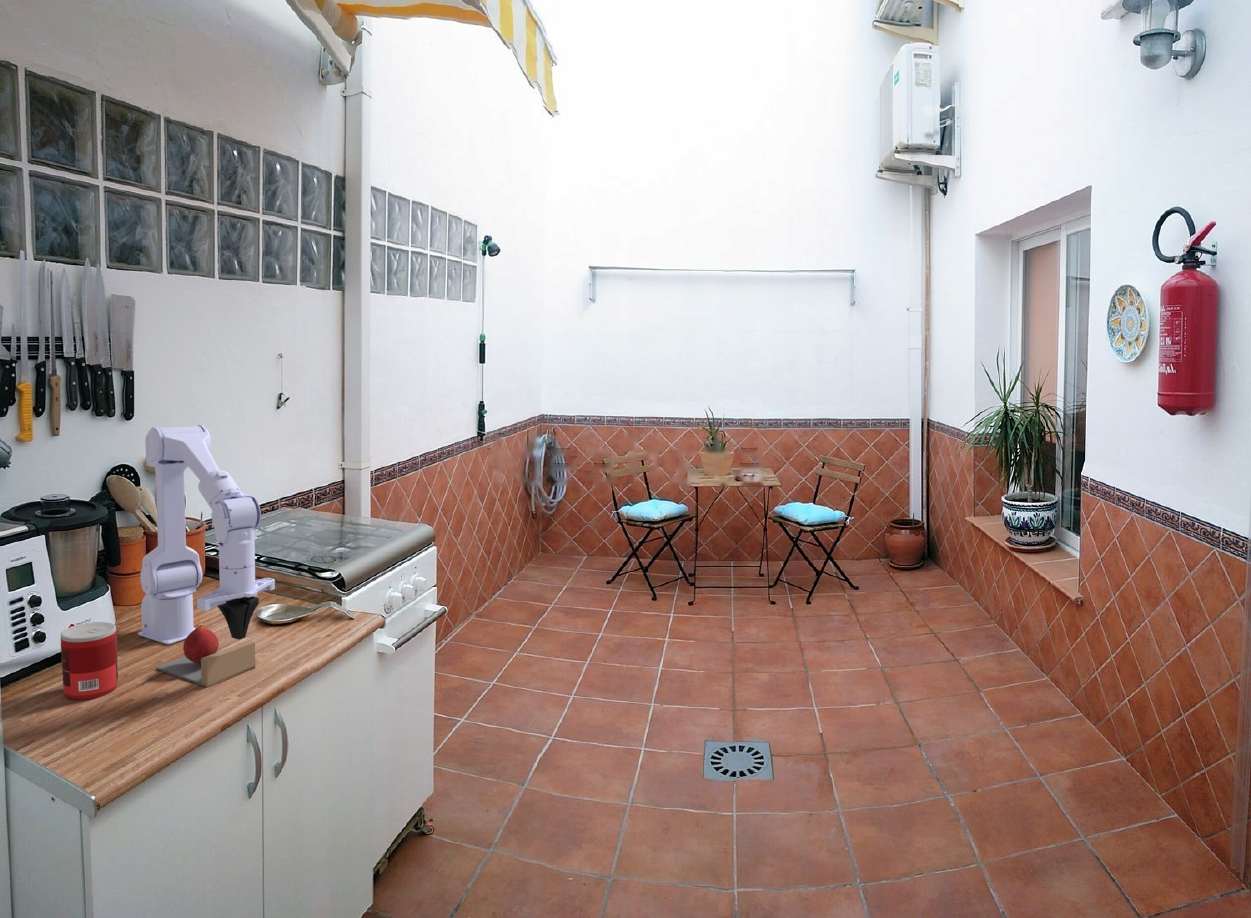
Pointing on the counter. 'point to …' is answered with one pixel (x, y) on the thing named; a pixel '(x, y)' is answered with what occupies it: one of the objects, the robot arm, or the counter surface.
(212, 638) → the onion
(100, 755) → the counter surface
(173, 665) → the l-shaped bracket
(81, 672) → the canned food
